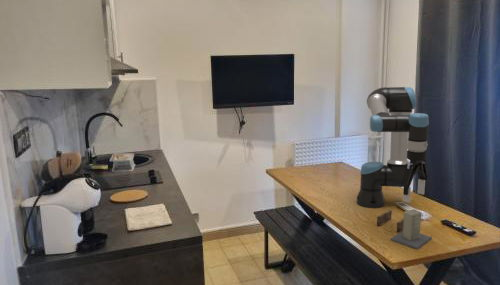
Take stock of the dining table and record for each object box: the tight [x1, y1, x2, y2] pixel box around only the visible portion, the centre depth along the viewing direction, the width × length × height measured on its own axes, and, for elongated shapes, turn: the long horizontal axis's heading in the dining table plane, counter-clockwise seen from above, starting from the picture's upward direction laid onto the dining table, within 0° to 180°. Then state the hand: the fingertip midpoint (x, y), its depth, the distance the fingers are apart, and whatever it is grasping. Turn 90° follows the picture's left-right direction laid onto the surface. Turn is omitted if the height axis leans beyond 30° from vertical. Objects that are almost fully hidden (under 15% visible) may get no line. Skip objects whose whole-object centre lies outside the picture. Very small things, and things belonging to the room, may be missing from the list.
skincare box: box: [402, 209, 422, 240], centre depth 168 cm, size 6×4×12 cm
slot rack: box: [376, 210, 404, 234], centre depth 184 cm, size 12×11×4 cm
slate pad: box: [390, 230, 433, 250], centre depth 169 cm, size 14×12×1 cm
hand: (413, 197), depth 165 cm, fingers open, 13 cm apart
